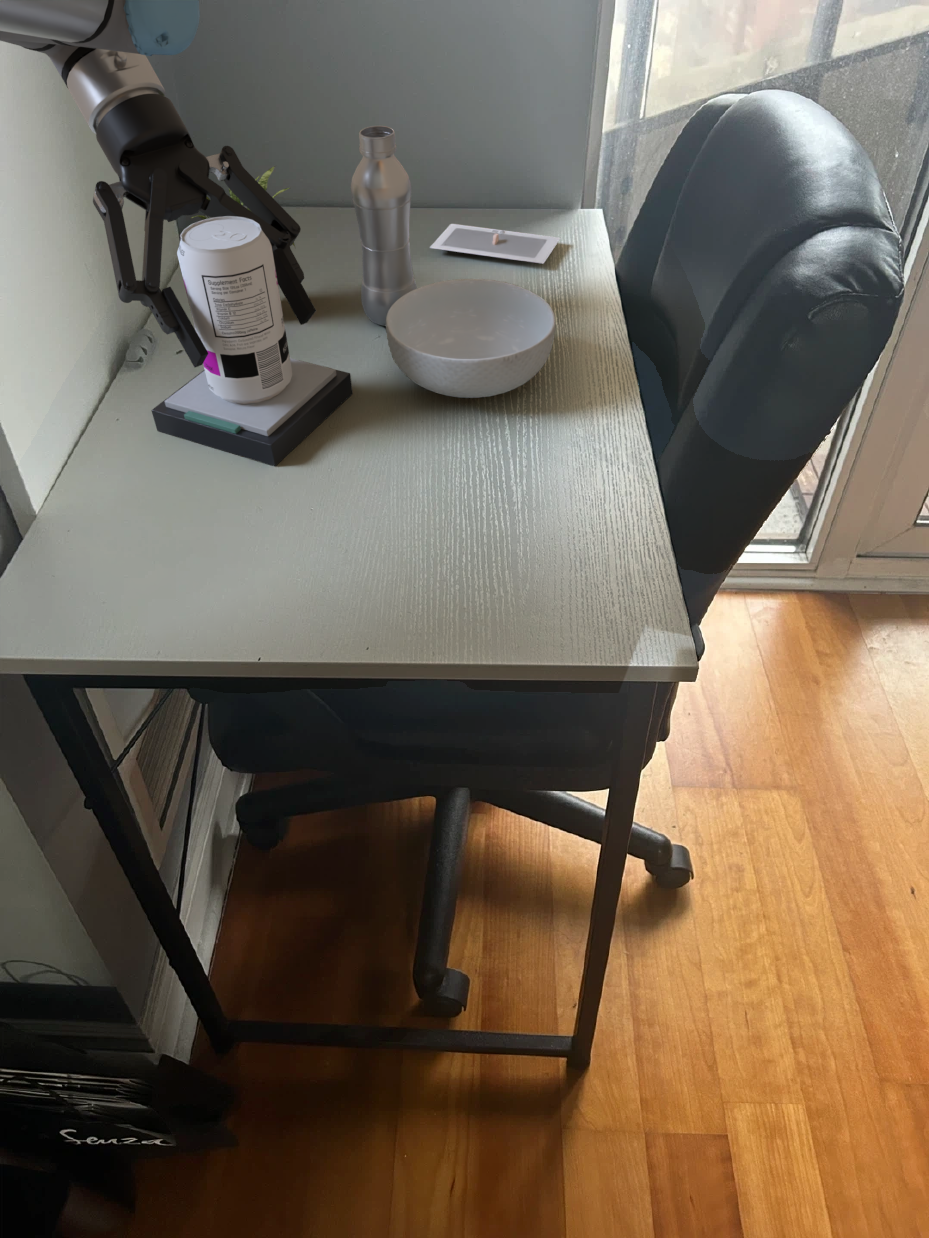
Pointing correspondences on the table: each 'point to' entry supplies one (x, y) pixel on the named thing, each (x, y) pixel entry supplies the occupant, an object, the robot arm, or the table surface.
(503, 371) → the cereal bowl
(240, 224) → the supplement can
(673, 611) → the table surface
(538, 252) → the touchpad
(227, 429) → the scale
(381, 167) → the silver metal bottle
